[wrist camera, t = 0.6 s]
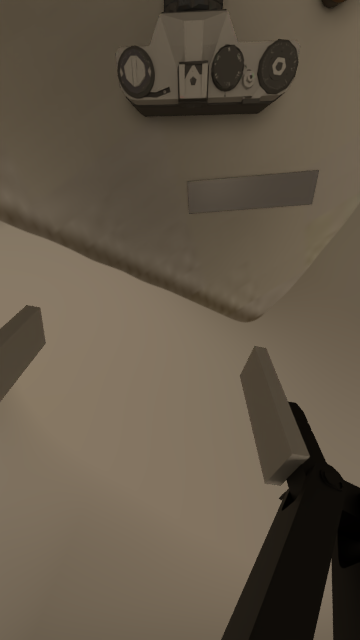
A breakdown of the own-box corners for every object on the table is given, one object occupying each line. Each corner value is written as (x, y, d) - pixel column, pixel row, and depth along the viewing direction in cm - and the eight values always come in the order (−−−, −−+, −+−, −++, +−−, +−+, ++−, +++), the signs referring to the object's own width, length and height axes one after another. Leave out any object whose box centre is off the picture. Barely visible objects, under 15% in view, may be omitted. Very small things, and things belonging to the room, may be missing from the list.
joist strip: (187, 181, 32) (187, 181, 32) (318, 170, 31) (318, 170, 31) (189, 213, 34) (189, 213, 34) (311, 204, 33) (311, 204, 33)
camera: (284, -19, 23) (339, -124, 15) (266, 118, 28) (297, 99, 20) (123, -11, 23) (86, -108, 15) (135, 121, 29) (113, 104, 21)
